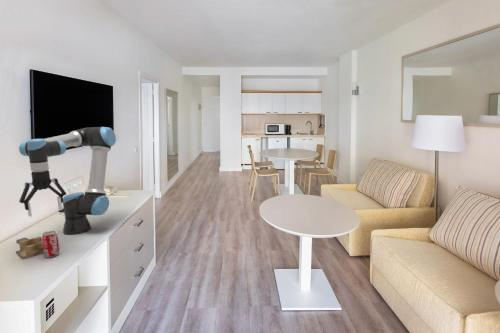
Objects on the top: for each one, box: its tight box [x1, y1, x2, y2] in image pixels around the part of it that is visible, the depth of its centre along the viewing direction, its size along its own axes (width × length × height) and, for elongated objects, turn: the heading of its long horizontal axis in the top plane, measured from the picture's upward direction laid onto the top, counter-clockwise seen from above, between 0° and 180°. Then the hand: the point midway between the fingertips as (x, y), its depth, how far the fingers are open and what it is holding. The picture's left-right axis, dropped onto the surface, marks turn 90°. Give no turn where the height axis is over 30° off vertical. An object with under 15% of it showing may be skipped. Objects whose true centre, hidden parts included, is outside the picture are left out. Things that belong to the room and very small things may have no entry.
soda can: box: [41, 230, 60, 259], centre depth 172 cm, size 7×7×12 cm
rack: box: [15, 236, 44, 260], centre depth 179 cm, size 14×12×6 cm
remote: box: [15, 237, 29, 244], centre depth 190 cm, size 16×4×2 cm, turn 58°
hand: (45, 212), depth 170 cm, fingers open, 13 cm apart
